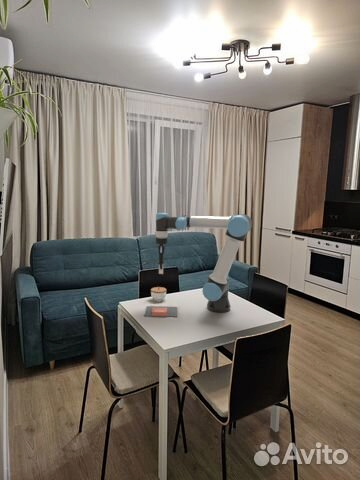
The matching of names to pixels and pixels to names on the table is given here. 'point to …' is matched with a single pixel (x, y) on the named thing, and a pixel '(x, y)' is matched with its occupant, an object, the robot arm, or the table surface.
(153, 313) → the deck
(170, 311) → the mat
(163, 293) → the lidded jar
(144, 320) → the table surface
